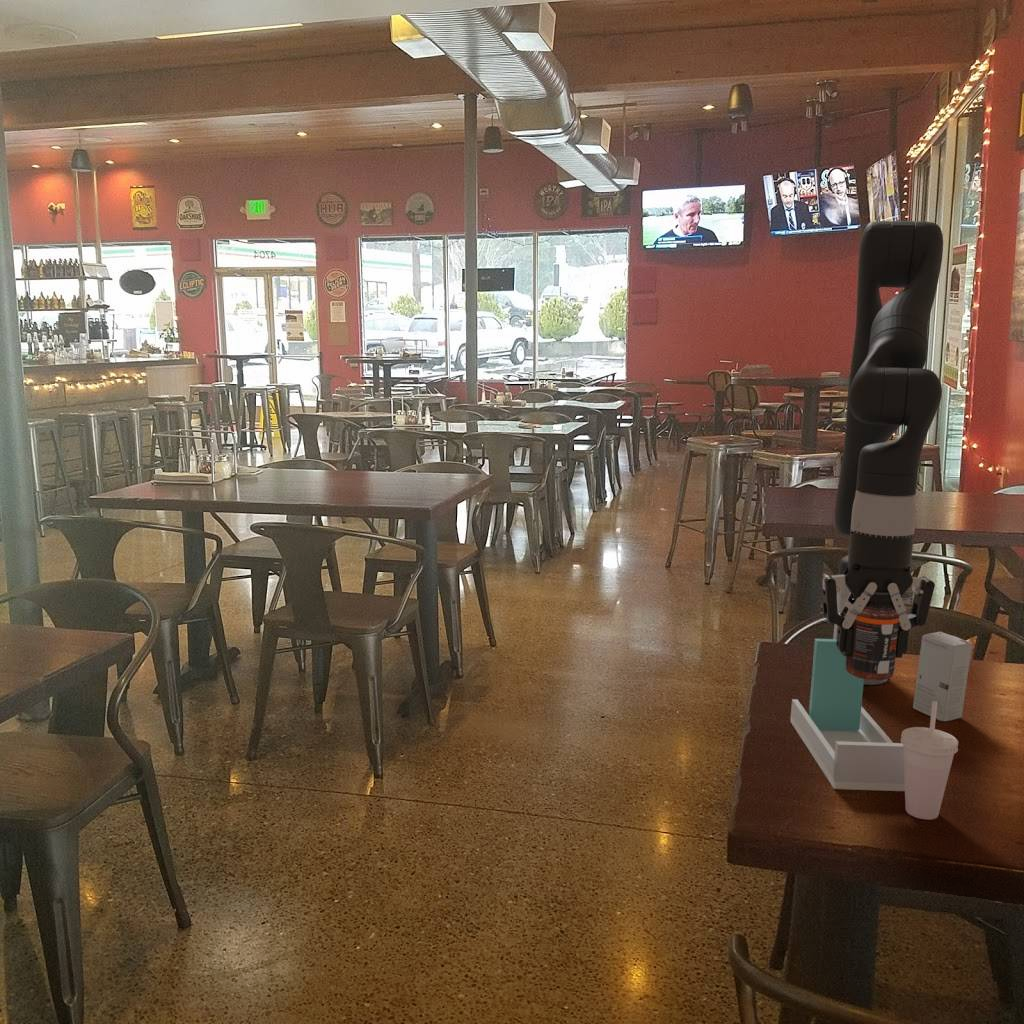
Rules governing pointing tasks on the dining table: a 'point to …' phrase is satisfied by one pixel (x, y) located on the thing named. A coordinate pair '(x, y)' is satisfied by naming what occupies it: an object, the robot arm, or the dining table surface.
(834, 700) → the pusher
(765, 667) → the dining table surface
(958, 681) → the skincare box
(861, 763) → the lane
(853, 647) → the supplement bottle
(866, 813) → the dining table surface
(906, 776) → the smoothie
